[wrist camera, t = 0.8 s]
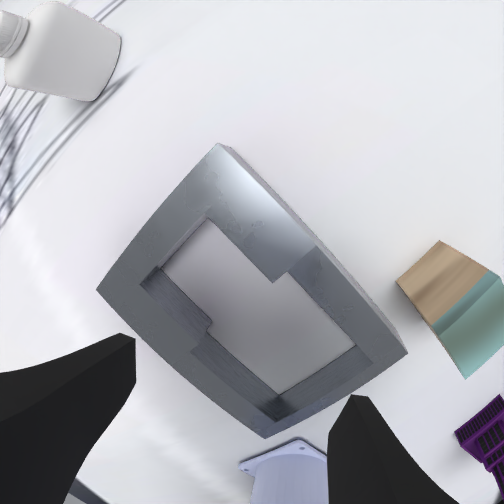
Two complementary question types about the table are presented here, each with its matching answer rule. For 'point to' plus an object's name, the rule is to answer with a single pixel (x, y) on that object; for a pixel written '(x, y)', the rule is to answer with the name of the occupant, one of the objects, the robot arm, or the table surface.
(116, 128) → the table surface
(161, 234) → the keyhole plate
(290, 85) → the table surface
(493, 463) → the building model
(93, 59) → the eye dropper bottle
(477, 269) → the plug block
